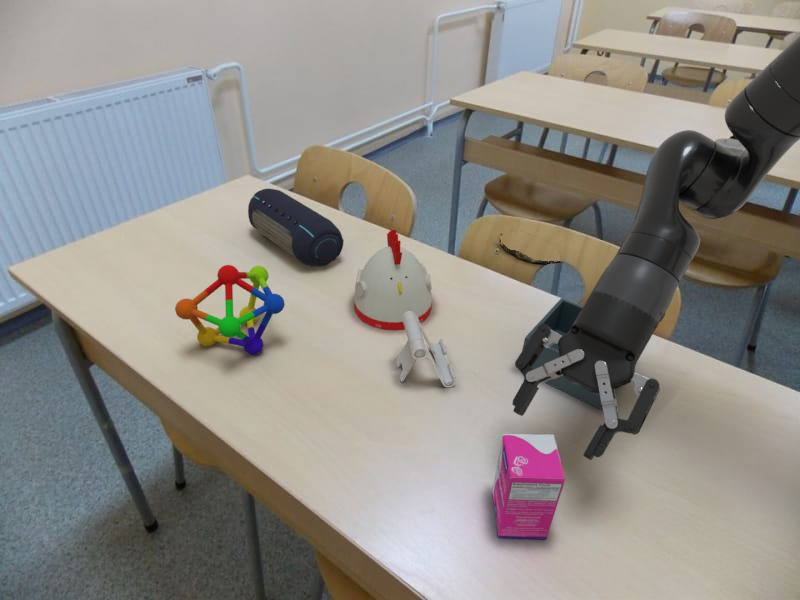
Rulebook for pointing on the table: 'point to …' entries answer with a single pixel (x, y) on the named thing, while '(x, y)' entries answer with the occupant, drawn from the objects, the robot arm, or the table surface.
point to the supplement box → (527, 485)
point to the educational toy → (229, 323)
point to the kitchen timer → (392, 287)
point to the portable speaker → (295, 227)
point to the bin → (561, 323)
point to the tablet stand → (423, 351)
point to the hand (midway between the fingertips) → (551, 435)
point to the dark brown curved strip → (524, 256)
